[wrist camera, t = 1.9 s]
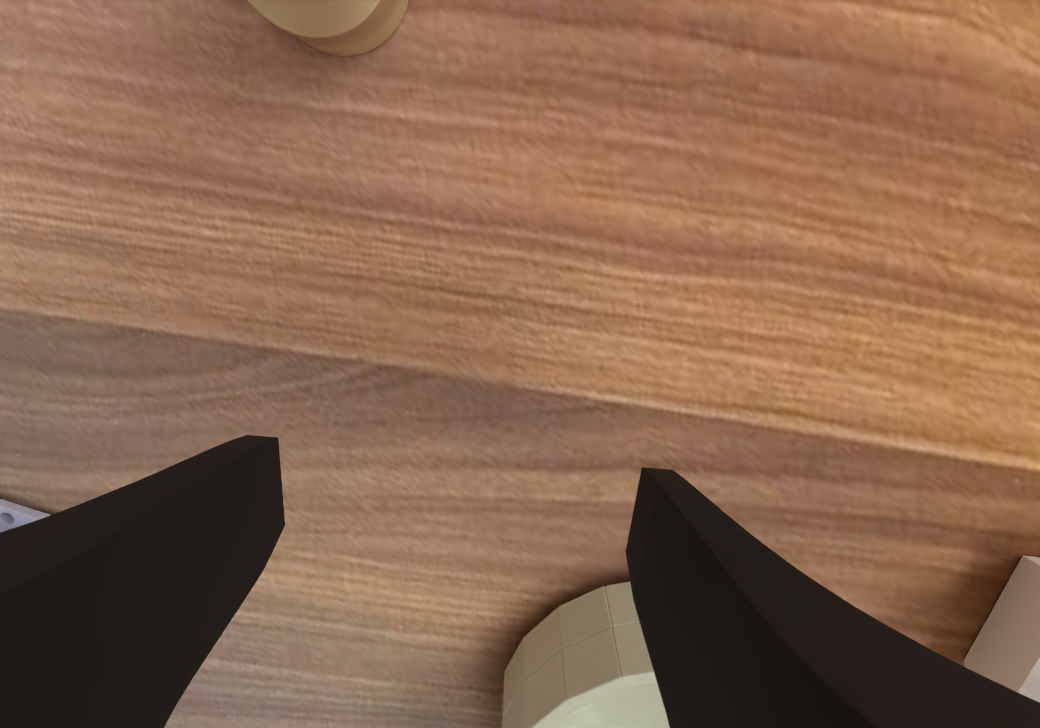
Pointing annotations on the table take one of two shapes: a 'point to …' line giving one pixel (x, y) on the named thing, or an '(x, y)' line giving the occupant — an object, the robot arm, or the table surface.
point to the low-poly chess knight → (1012, 634)
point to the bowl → (584, 668)
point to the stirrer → (335, 22)
